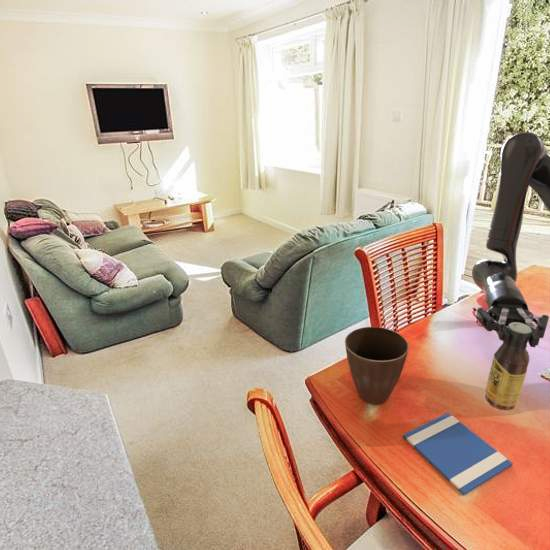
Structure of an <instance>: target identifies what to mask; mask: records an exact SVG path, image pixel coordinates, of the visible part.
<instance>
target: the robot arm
mask: <svg viewBox="0 0 550 550" xmlns="http://www.w3.org/2000/svg"><path fill="white" fill-rule="evenodd" d="M499 175H500V177H499V184H498V191H497V197H496V201H495V206H494V209H493V214H492V218H491V221H490V226H489V230H488V234H487V239H486V244H485V247H486V249H487V250H489V251H491V252H494V253H497V254H500V255H501V256H502V257H503V261H499V260H492V259H480V260H478V261H476V262H475V263H474V265H473V266H472V269H471V277H472V280H473V282H474V284H475V285H476V286H477V287H478V288H479V289H480V290H481V291H482V290H483V291H484V292H485V298H486V304H487V306H488V310H489V311H485V310H484V309H483V308H480V307H477V308H476V310H477V311H476V313H475V314H476V317H475V319H476V321H477V320H478V321H479V322H480V323H481V324H482V326H481V327H483V328H484V329H485V330H486V331H487V332H493V331H494V332H495V333H496V334H497V336H498V339H499V341H502V344H503V343H507V344H508V341H509V336H510V334H509V331H508V329H507V328H508V325H509V324H510V323H513V322H518V323H523V324H525V325H528V326H529V327H530V328H531V330H532V332H531V336H530V337H529V338H528V342H527V343H528V344H529V347H530V348H536V346H539V343H540V340H541V339H543V338H544V337H545V333H546V330H547V327H548V322H549V319H550V316H549V315H547V314H542V315H541V316H537V315H534V313H533V312H532V311H530V309H529V306H528V303H527V302H526V300H525V297H524V296H523V294H522V293H523V292H521V290H520V288H519V287H518V286H517V284H516V282H517V281H518V265H517V247H518V242H519V238H520V234H521V230H522V225H523V219H524V212H525V205H526V198H527V192H528V189H529V187H530V188H531V189H532V190H533V191H534V192H535V194H537V196H538V197H539V199H540V201H541V202H542V203H543V205H544V206H545V208H546V209H547V211H548V212H549V213H550V152H549V151H548V150H547V148H546V146H545V143H544V141H543V140H542V138H541V137H540V136H538V134H536V133H533V132H531V131H530V132H529V131H524V132H523V131H522V132H518V133H516V134H514V135H512V136H511V137H509V138H508V139H507V140H506V141H505V142H504V144H503V146H502V147H501V151H500V174H499ZM479 322H478V323H479Z"/></svg>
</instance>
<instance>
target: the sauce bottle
mask: <svg viewBox="0 0 550 550" xmlns="http://www.w3.org/2000/svg"><path fill="white" fill-rule="evenodd" d="M507 329H508V331H509V334H510V336H509V341H508V344H507V343H503V342H502V344H501V345H500V346H499V347H498V349H497V350H496V351H495V352H494V355H493V358H492V363H491V366H490V369H489V373H488V379H487V382H486V387H485V394H484V398H485V400H486V402H487V403H488V404H489V405H490V406H491V407H492V408H495V409H497V410H500V411H506V412H507V411H512V410H514V409H515V407H516V406H517V404H518V401H519V399H520V395H521V392H522V388H523V386H524V382H525V378H526V375H527V371H528V366H529V363H530V355H529V352H528V350H527V348H528V343H529V342H528V338H529V337H530V336H531V332H532V330H531V328H530V327H529V326H528V325H525V324H523V323H518V322H513V323H510V324H509V325H508V327H507Z"/></svg>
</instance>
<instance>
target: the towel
mask: <svg viewBox="0 0 550 550" xmlns="http://www.w3.org/2000/svg"><path fill="white" fill-rule="evenodd" d="M402 437H403V438H404V439H405V441H407V442H408V444H410V445H411V446H412V447H413V448H414V450H416V451H417V452H418V453H419V454H420V455H421V456H422V457H423V458H424V459H425V460H426V461H427V462H429V463H430V464H431V466H433V467H434V468H435V469H436V470H437V471H438V472H439V473H440V474H441V475H442V476H443V477H444V478H445V479H446V480H447V481H448V482H449V483H450V484H451V485H452V486H453V487H454V488H455V489H456V490H457V491H458V492H460V494H462V495H463V496H465V495H467V494H469V493H470V492H472V491H473V490H475V489H477V488H478V487H479V486H481V485H483V484H485V483H486V482H488V481H490V480H491V479H493V478H494V477H496V476H498V475H499V474H501V473H502V472H504V471H505V470H508V468H511V467H512V466H513V462H512V461H511V460H510V459H508V458H507V457H506V456H505V455H503V454H502V453H501V452H500V451H498V450H497V449H495V448H494V447H493V446H491V445H490V444H489V443H488V442H487V441H485V440H484V439H482V438H481V437H480V436H479V435H477V434H476V433H475V432H473V431H472V430H471V429H469V427H467V426H466V425H464V424H463V423H462V422H460V420H458V419H457V418H456V417H455V416H453V415H452V414H451V413H449V412H447V413H445V414H443V415H441V416H438V417H437V418H434V419H433V420H431V421H428V422H427V423H424V424H422V425H420V426H419V427H416V428H414V429H411V430H410V431H408V432H406V433H404V434H403V435H402Z"/></svg>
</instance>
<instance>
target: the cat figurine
mask: <svg viewBox="0 0 550 550" xmlns="http://www.w3.org/2000/svg"><path fill="white" fill-rule="evenodd" d="M476 303H477V305H479V308H483V309H484V310H485V311H489V310H488V306H487V304H486V298H485V292H484V291H483V290H481V291H480V292H479V294H478V295H477V296H476ZM471 314H472V315H473V317H474V318H476V314H477V308H475V307H472V310H471ZM477 321H478V320H477V319H476V321H475V322H476V323H477V325H478V326H480V327H482V326H481V325H482V324H481V323H480V322H477ZM478 323H479V324H480V325H479V324H478Z"/></svg>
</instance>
